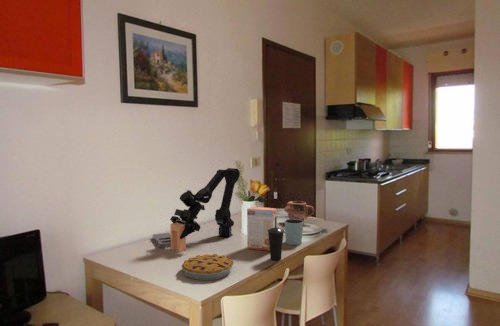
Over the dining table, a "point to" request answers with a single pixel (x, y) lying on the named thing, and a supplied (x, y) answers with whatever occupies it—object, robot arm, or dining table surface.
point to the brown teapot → (298, 210)
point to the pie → (207, 267)
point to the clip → (177, 237)
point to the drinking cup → (275, 242)
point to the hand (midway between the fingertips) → (175, 237)
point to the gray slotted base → (162, 240)
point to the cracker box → (259, 227)
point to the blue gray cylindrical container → (293, 231)
